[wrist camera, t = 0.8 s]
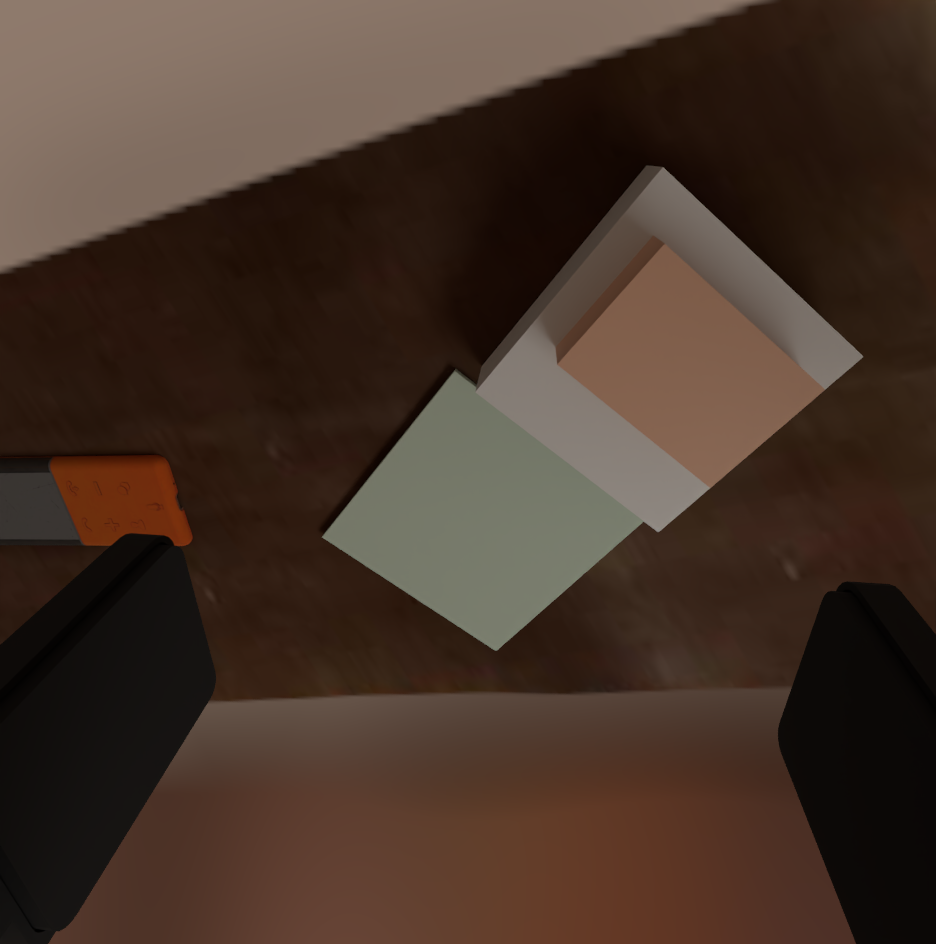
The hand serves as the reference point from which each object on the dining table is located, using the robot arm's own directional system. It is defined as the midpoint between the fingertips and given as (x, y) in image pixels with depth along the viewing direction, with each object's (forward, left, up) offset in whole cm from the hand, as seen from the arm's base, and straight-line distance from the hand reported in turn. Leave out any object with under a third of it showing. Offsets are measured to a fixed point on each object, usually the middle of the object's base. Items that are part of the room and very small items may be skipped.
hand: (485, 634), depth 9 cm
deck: (-7, -2, -24) cm, 25 cm away
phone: (+14, +28, -25) cm, 40 cm away
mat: (-7, +12, -24) cm, 28 cm away
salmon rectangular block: (-7, -3, -20) cm, 21 cm away
